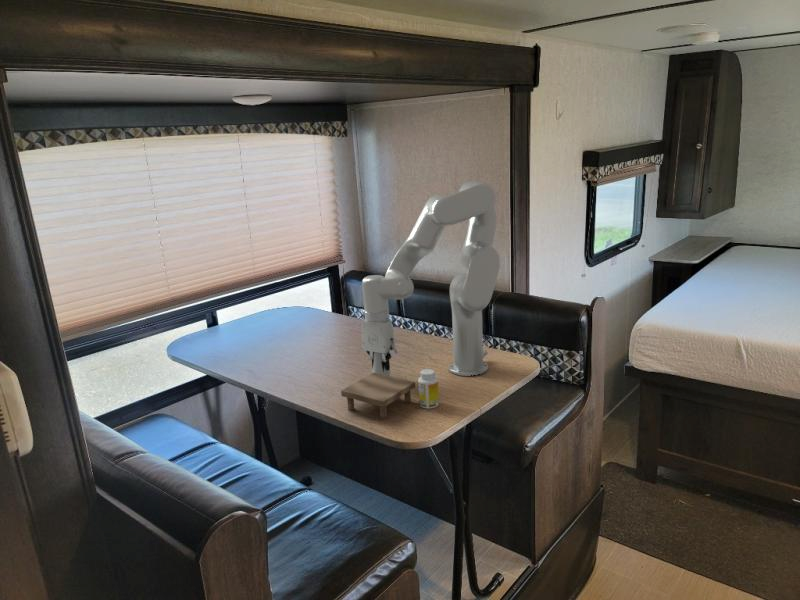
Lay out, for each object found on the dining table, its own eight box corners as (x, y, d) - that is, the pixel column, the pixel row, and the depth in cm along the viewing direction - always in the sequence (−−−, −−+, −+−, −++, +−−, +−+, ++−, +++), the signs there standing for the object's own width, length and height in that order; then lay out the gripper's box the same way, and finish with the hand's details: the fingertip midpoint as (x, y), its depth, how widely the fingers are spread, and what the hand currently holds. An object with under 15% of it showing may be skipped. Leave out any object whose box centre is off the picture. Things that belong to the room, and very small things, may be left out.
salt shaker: (381, 375, 186) (378, 337, 183) (394, 378, 182) (391, 340, 179) (369, 381, 182) (365, 342, 178) (382, 385, 178) (379, 345, 175)
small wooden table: (375, 391, 174) (373, 372, 173) (416, 401, 165) (415, 381, 164) (342, 410, 162) (341, 390, 161) (385, 422, 154) (383, 401, 152)
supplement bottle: (440, 401, 164) (439, 368, 162) (436, 410, 159) (435, 376, 156) (422, 400, 166) (420, 367, 163) (417, 408, 161) (415, 374, 158)
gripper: (348, 315, 178) (353, 370, 183) (391, 322, 169) (395, 379, 174) (363, 309, 184) (368, 363, 189) (405, 315, 175) (409, 371, 179)
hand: (381, 370), depth 181 cm, fingers closed on salt shaker, 3 cm apart
